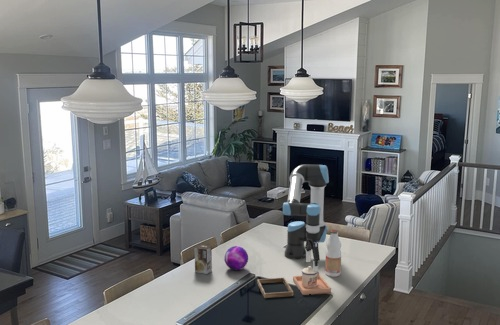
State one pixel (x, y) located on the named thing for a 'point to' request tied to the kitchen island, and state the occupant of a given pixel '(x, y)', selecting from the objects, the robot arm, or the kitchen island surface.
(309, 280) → the teacup with lid
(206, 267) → the coffee box
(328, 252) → the fruit juice
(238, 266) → the decorative orb
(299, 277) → the terracotta dish
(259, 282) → the walnut corral
